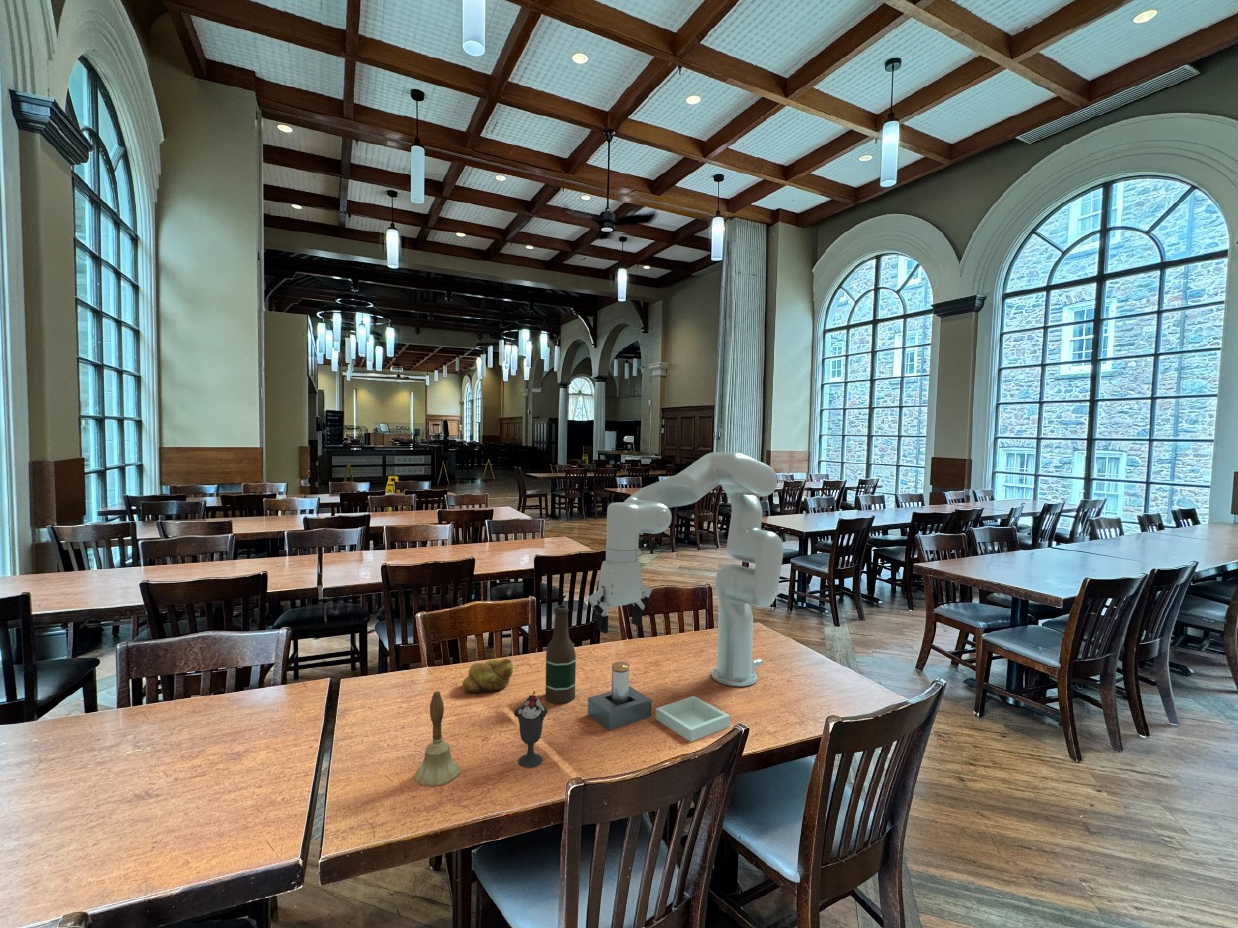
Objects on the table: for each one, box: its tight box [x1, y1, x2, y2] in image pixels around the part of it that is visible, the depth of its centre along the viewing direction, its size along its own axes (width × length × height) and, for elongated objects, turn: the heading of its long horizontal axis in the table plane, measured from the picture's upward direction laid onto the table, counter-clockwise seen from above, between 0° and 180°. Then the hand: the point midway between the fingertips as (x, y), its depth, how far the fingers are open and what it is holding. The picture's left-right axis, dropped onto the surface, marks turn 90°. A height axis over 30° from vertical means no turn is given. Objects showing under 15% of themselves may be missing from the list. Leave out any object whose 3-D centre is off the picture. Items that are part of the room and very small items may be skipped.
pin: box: [611, 661, 630, 706], centre depth 130 cm, size 4×4×12 cm
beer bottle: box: [545, 604, 577, 705], centre depth 139 cm, size 8×8×24 cm
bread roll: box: [462, 658, 514, 694], centre depth 146 cm, size 13×10×8 cm
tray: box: [655, 695, 731, 743], centre depth 127 cm, size 12×12×4 cm
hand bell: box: [414, 691, 461, 787], centre depth 107 cm, size 8×8×16 cm
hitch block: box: [587, 685, 653, 732], centre depth 130 cm, size 12×9×5 cm
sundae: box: [513, 690, 549, 768], centre depth 112 cm, size 7×7×15 cm
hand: (620, 628), depth 129 cm, fingers open, 9 cm apart
